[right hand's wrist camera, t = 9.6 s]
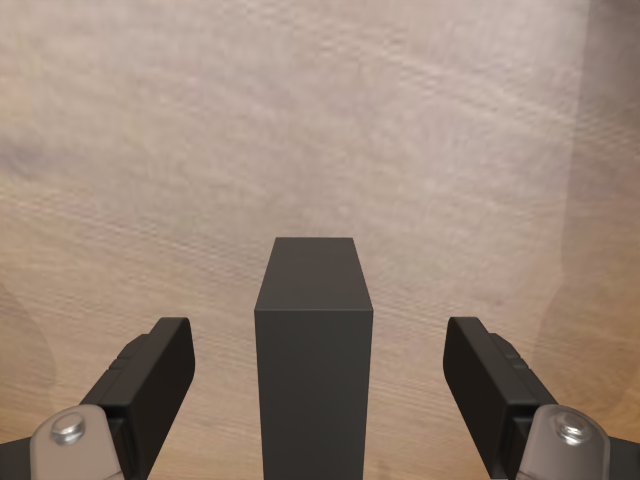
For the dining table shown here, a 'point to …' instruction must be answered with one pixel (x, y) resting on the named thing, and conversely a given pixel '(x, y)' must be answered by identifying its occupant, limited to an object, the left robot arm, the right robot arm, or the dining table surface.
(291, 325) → the bar
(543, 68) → the dining table surface
